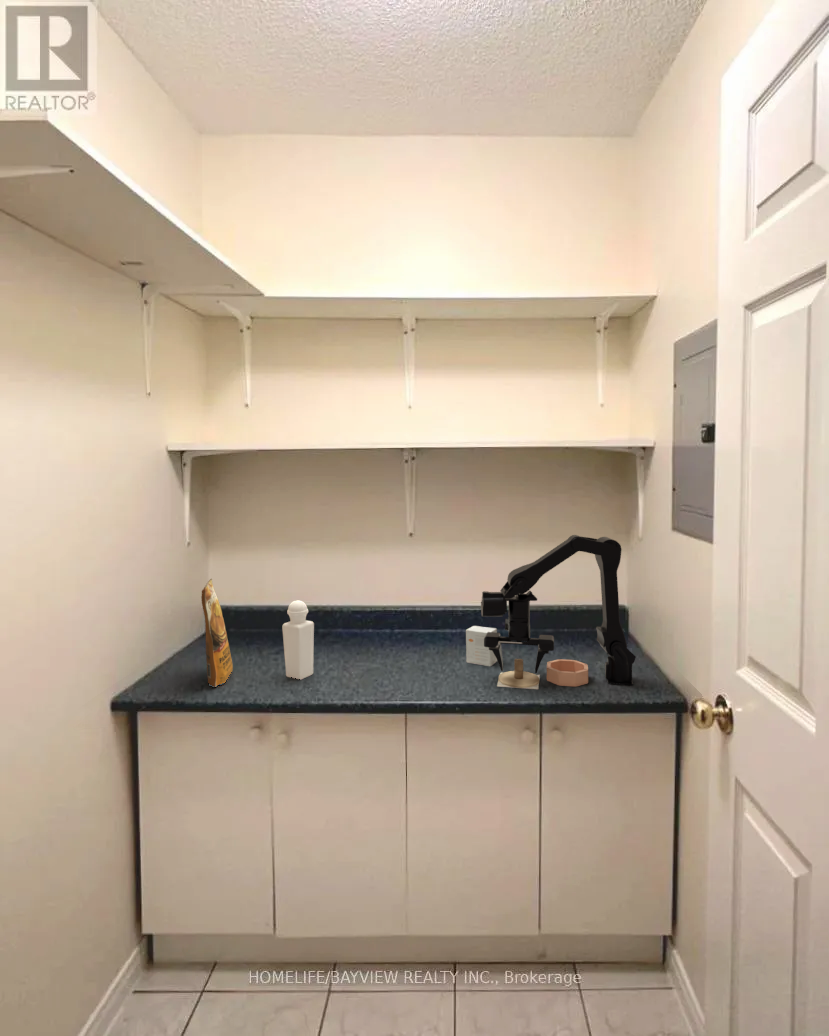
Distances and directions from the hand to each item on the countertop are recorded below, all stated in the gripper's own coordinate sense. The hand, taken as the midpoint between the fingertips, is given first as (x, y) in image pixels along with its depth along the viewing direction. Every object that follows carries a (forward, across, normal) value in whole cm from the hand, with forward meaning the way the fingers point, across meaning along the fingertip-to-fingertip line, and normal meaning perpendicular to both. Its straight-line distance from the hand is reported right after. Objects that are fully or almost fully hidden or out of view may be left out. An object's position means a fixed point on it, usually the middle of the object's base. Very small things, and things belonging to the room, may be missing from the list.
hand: (519, 671), depth 169 cm
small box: (+3, +12, -14) cm, 19 cm away
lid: (+2, 0, 0) cm, 3 cm away
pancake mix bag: (+3, +84, +14) cm, 85 cm away
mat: (+3, 0, 0) cm, 3 cm away
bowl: (+3, -13, -4) cm, 14 cm away
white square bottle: (+3, +62, +7) cm, 63 cm away
